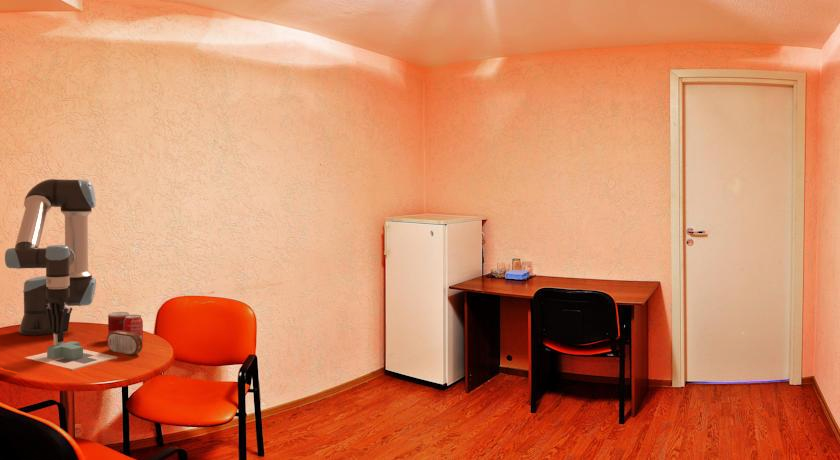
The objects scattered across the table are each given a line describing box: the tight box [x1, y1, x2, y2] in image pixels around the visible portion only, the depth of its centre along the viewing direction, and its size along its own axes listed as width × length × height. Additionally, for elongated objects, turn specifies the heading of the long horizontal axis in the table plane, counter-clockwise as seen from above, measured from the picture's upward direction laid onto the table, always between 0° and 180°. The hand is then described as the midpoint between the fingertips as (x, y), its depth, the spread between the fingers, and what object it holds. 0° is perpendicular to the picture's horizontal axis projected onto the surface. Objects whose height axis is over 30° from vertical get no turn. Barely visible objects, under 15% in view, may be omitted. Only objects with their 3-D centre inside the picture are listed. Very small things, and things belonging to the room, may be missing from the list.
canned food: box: [107, 311, 130, 336], centre depth 256 cm, size 8×8×11 cm
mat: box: [24, 348, 118, 371], centre depth 229 cm, size 18×26×1 cm
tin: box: [106, 330, 143, 356], centre depth 238 cm, size 15×3×8 cm, turn 71°
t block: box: [46, 340, 84, 360], centre depth 229 cm, size 10×10×4 cm
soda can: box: [123, 314, 144, 343], centre depth 248 cm, size 7×7×12 cm
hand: (58, 350), depth 232 cm, fingers closed
